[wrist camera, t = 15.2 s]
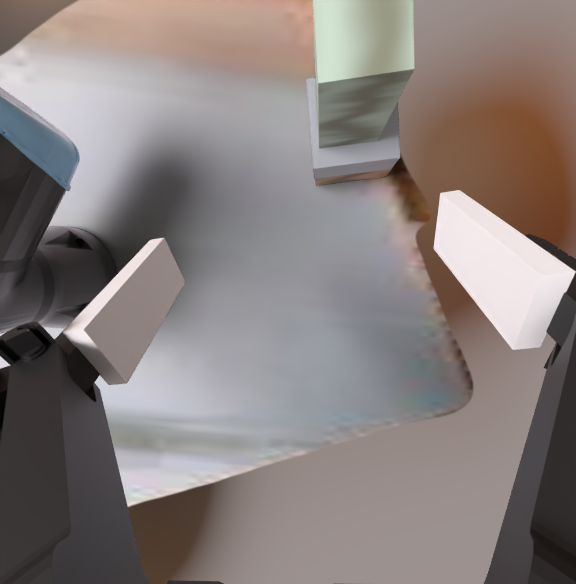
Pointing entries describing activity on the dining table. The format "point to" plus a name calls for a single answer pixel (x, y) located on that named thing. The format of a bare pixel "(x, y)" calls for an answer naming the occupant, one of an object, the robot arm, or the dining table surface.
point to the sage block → (360, 66)
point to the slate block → (352, 147)
